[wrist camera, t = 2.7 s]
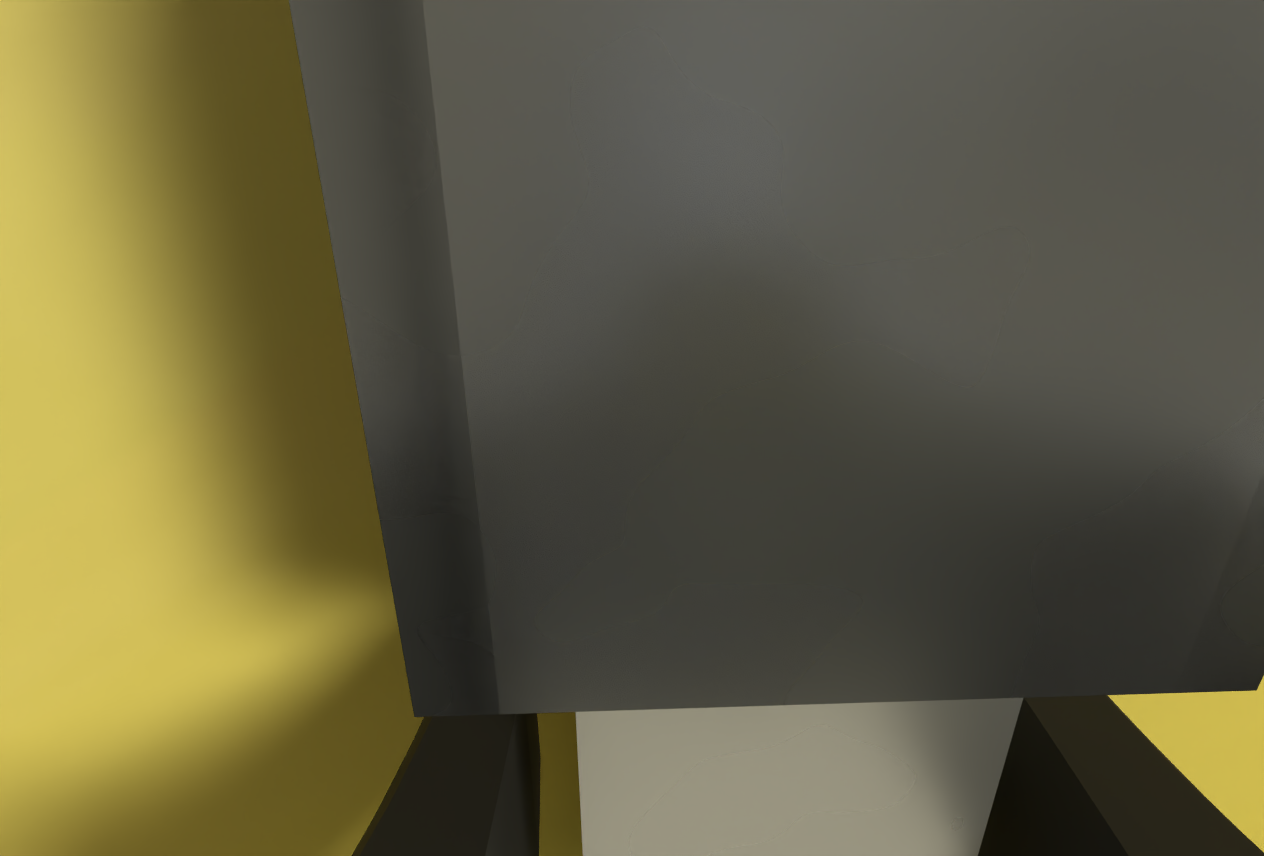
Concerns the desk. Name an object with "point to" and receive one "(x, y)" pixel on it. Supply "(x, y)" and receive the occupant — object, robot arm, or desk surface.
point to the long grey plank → (793, 778)
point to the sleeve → (803, 343)
